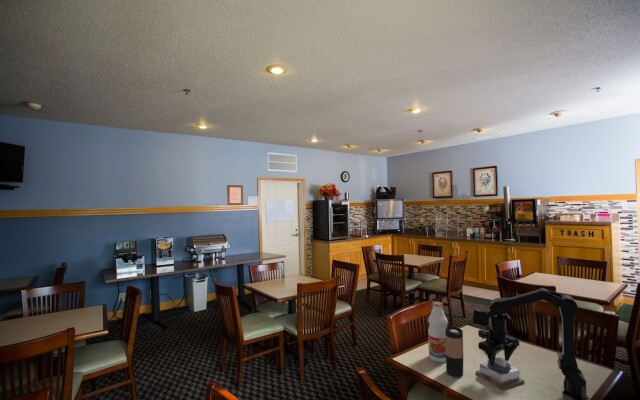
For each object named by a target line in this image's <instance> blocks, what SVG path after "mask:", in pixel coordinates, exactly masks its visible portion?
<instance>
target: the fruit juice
mask: <svg viewBox="0 0 640 400" xmlns="http://www.w3.org/2000/svg"><path fill="white" fill-rule="evenodd" d="M443 306H444V305H443V302H441V301H433V302H432V310H431V312H430V314H429V316H428V319H427V320H428V321H427V322H428V324H429V326H428V331H427V334H428V336H427V337H428V338H427V339H428V341H427V342H428V357H429V359H430V360H431V361H433V362H436V363H446V347H445V329H446V328H447V327H448V324H449V323H448V322H449V321H448V318H447V316H446V315H445V311H444V309H443Z"/></svg>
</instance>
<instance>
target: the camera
mask: <svg viewBox="0 0 640 400" xmlns="http://www.w3.org/2000/svg"><path fill="white" fill-rule="evenodd" d="M489 329H491V324H490V325H489V324H488V326H485V330H489ZM507 335H509V336H510V334H509V333H508V334H507ZM507 335H506V336H507ZM485 341H487V342H489V343H492V341H489V340H488V339H485ZM501 347H502V346H499V347H496V351H495V352H501V350H502V349H501Z"/></svg>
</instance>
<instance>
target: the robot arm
mask: <svg viewBox="0 0 640 400" xmlns="http://www.w3.org/2000/svg"><path fill="white" fill-rule="evenodd" d="M540 301H546V302H547V303H549V304H552V305H554V306H556V307H558V309H559V312H560V315H561V337H562V338H561V339H562V340H561V341H562V342H561V343H562V344H561V345H562V351H561V353H559V352H557V353H556V354H557V366H558V369H559V370H561V373H562V375H563V376H564V379H563V390H562V393H563V394H564V395H566V396H567V397H570V398H572V399H573V400H587V399H589V398H590V395H588V394H587V383H588V382H587V381H586V378H585V376H584V373H583V371H582V370H580V368H579V366H578V362H577V358H576V354H575V353H576V352H575V350H576V349H575V322H574V321H575V319H576V316H577V312H578V304H577V302H576V301H575V299H574V298H573V296H571V295H569V294H561V293H559V292H556V291H552V290H549V289H546V288H544V287H540V288H539V289H536V290H532V291H528V292H524V293H523V294H517V295H514V296H511V297H497V298H496V297H495V298H494V299H492V300H491V302H490V306H489V307H488V308H487V310H480V309H476V308H474V309H473V317H472V325H474V326H482V327H486V326H488V324H489V325H491V329H489V330H486V329H485V330H484V329H479V330H478V331H477V333H478V337H479V338H481V340H483V341H479V342H478V343H477V344H478V349H479V350H481V351H484V352H485V354H486V356H487V359H488V360H489V362H490V364H491V365H492V366H493V364H494V361H495V357H496V356H497V351H496V347H499V346H501V347H503V354H504V355H503V356H504V360H506V361H507V362H508V361H509V360H510V358H511V357H512V355H513V353H514V352H515V350H516V349H517V348H518V347H519V346H520V341H519V339H518V338H516V337H514V336H511V335H510V334H509V331H507V321H509V322H511V316H510V315H508V312H510V311H511V310H513V309H516V308H518V307H522V306H525V305H529V304H532V303H533V304H534V303H536V302H540ZM490 319H491V320H490ZM490 321H491V323H490ZM507 334H509V335H507ZM506 335H507V336H506ZM484 339H485V340H484ZM486 339H488V340H489V341H492V343H489V342H487V341H486ZM588 397H589V398H588ZM586 398H587V399H586Z"/></svg>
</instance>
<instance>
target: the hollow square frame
mask: <svg viewBox="0 0 640 400" xmlns="http://www.w3.org/2000/svg"><path fill="white" fill-rule="evenodd" d="M479 370H480V372H481V373H482V374H484V375H486V376H487V377H489V378H491V379H492V380H494V381H496V382H497V383H499V384H501V385H502V384H506V383H509V382H512V381H515V380H518V379H520V378H521V377H520V369H518V368H516V367H514V366H513V365H511V370H510V371H508V372H499V371H496V370H494V369H492V368H490V367H489V366H488V360H487V361H483V362H480V363H479Z"/></svg>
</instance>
